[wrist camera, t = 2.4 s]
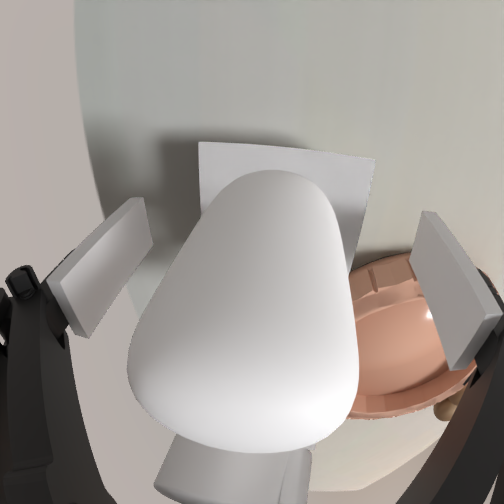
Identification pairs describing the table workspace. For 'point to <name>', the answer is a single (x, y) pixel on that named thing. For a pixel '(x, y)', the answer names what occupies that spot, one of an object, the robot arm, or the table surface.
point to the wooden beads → (448, 406)
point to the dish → (397, 343)
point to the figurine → (255, 324)
